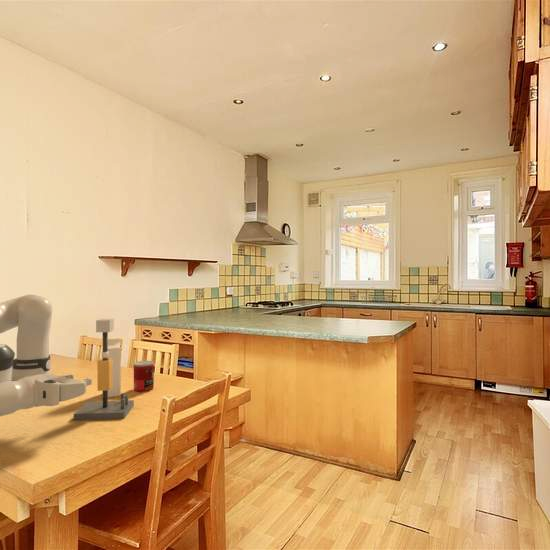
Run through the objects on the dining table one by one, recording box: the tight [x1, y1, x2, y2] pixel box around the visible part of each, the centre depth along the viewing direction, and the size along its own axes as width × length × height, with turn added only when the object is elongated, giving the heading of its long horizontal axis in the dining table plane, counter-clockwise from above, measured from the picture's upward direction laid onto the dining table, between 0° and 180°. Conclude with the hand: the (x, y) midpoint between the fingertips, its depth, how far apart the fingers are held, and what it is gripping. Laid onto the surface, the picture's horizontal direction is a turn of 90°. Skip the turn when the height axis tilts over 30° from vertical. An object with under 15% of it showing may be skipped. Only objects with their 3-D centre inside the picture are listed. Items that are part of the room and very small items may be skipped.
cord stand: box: [73, 318, 135, 421], centre depth 133 cm, size 16×12×32 cm
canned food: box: [133, 360, 155, 393], centre depth 160 cm, size 8×8×11 cm
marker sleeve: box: [96, 358, 113, 392], centre depth 133 cm, size 4×4×10 cm
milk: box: [101, 337, 122, 398], centre depth 152 cm, size 6×6×22 cm
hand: (81, 379), depth 125 cm, fingers open, 8 cm apart
